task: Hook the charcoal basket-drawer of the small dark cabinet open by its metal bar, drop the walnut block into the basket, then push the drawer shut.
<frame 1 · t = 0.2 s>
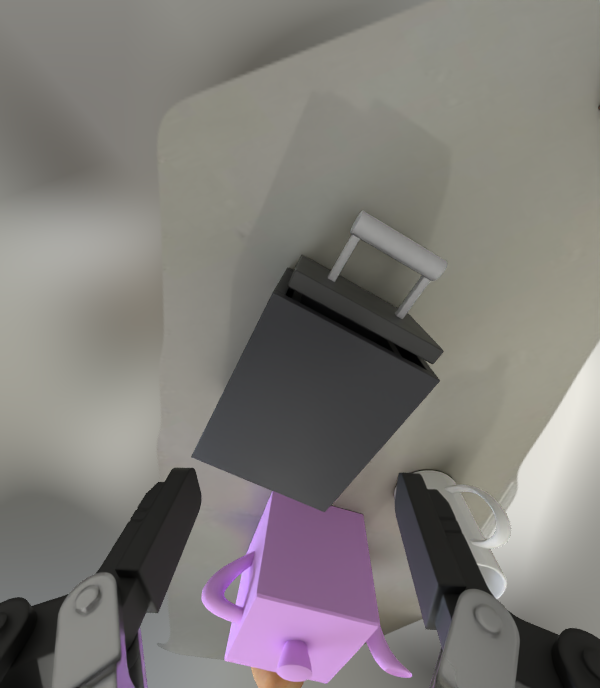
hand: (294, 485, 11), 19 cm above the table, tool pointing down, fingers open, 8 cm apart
cabinet: (307, 362, 30), on the table
teapot: (308, 535, 42), on the table
mug: (432, 479, 36), on the table
drawer: (332, 345, 24), point 5 cm above the table, slide at 0.5 cm
onion: (283, 613, 51), on the table
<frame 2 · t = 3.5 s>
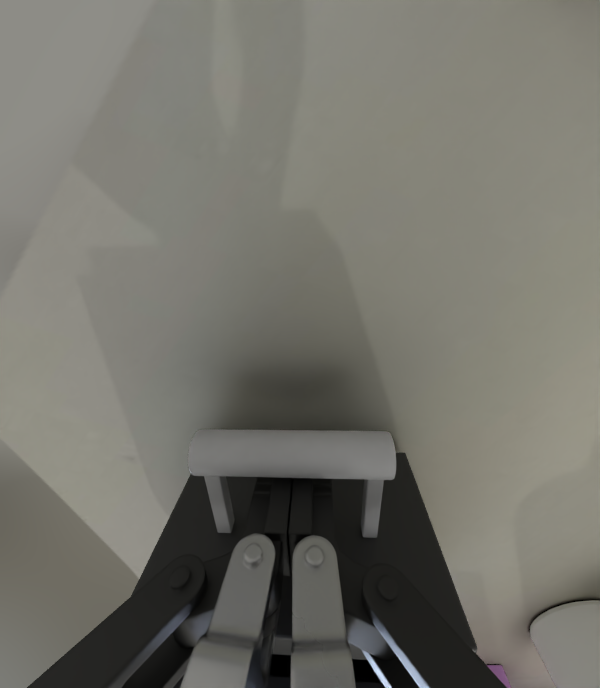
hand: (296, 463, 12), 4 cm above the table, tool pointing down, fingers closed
cabinet: (306, 545, 21), on the table
mug: (583, 607, 22), on the table
drawer: (300, 579, 14), point 5 cm above the table, slide at 1.2 cm, touching gripper
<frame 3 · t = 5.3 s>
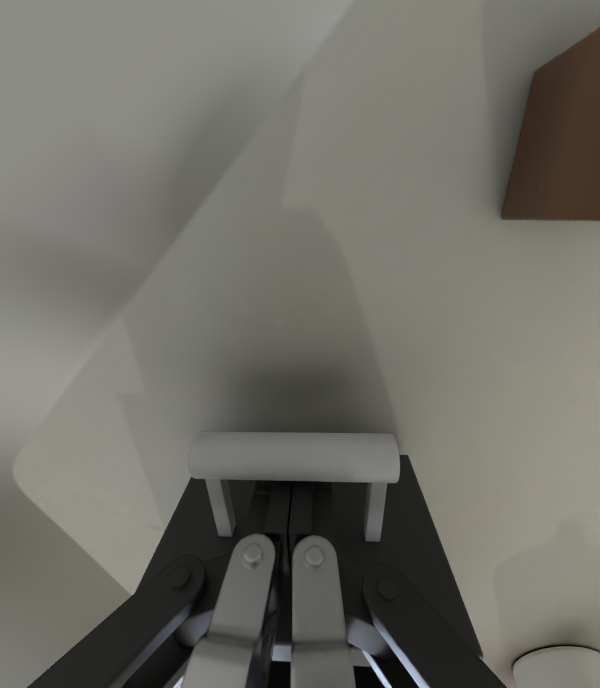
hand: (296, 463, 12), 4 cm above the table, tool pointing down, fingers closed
mug: (560, 651, 25), on the table
block: (582, 148, 10), on the table
drawer: (302, 583, 14), point 5 cm above the table, slide at 7.7 cm
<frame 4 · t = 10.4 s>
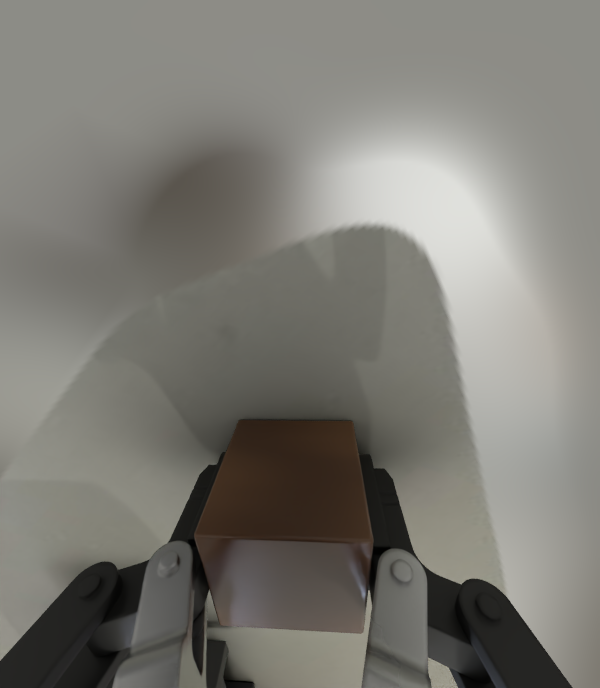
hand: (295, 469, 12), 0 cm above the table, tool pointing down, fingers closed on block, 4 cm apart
block: (297, 462, 12), on the table, touching gripper
when the fingers open (8 cm above the table, at t = 15.5 s): block drops 6 cm, resting on drawer.
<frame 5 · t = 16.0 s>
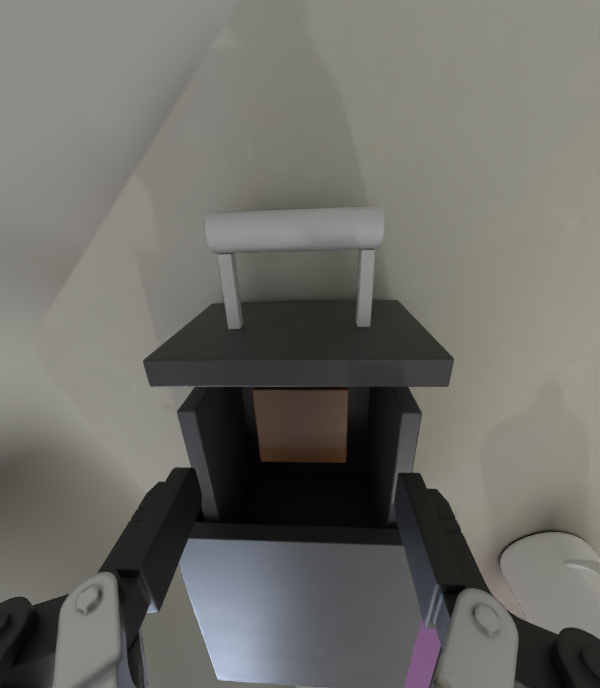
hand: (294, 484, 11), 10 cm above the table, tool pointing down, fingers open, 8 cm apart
cabinet: (309, 484, 25), on the table
teapot: (428, 634, 34), on the table
mug: (544, 540, 27), on the table
block: (305, 380, 18), point 2 cm above the table, touching drawer
drawer: (302, 403, 16), point 5 cm above the table, slide at 7.8 cm, touching block
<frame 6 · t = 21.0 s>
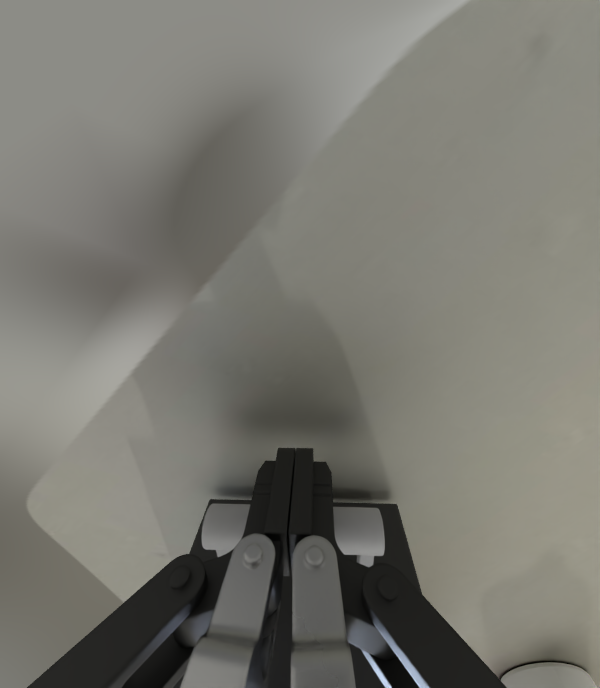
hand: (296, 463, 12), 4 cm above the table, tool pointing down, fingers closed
mug: (544, 666, 26), on the table
drawer: (300, 624, 16), point 5 cm above the table, slide at 7.0 cm, touching block, gripper
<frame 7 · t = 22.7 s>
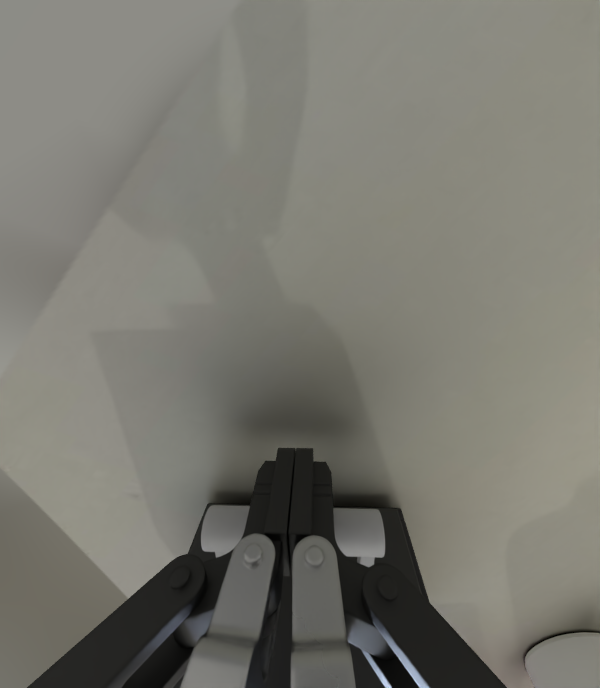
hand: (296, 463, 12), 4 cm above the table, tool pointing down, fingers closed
cabinet: (305, 579, 21), on the table
mug: (576, 638, 23), on the table
drawer: (300, 633, 15), point 5 cm above the table, slide at 0.0 cm, touching block, cabinet, gripper
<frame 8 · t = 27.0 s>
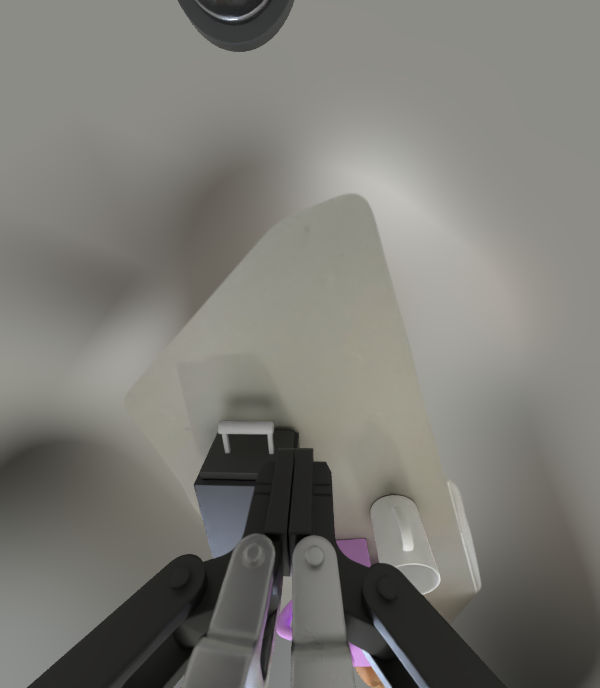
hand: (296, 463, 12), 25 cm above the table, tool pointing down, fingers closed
cabinet: (262, 469, 47), on the table
teapot: (342, 563, 57), on the table
mug: (392, 500, 49), on the table
drawer: (254, 474, 41), point 5 cm above the table, slide at 0.0 cm, touching block, cabinet
onion: (369, 621, 65), on the table
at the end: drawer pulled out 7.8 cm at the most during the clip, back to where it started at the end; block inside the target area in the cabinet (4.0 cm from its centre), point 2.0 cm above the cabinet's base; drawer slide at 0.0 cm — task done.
